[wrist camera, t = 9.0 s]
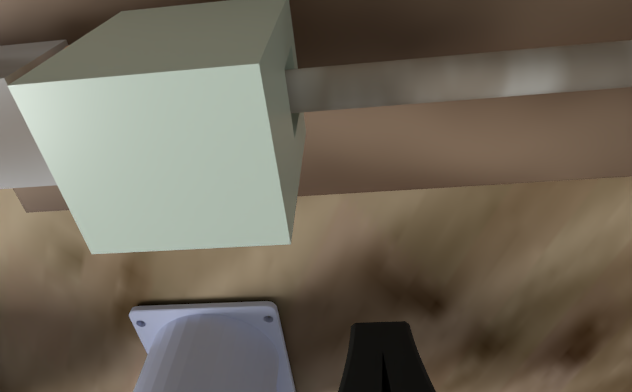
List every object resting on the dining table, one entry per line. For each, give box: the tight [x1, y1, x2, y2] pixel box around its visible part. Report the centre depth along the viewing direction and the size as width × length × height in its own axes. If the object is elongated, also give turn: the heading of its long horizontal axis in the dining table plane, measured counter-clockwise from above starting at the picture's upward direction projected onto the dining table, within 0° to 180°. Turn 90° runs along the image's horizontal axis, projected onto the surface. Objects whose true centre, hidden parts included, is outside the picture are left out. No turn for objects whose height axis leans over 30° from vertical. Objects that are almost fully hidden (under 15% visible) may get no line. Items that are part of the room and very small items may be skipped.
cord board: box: [0, 0, 632, 212], centre depth 14 cm, size 12×28×6 cm, turn 96°
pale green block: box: [8, 0, 306, 254], centre depth 13 cm, size 4×5×6 cm
